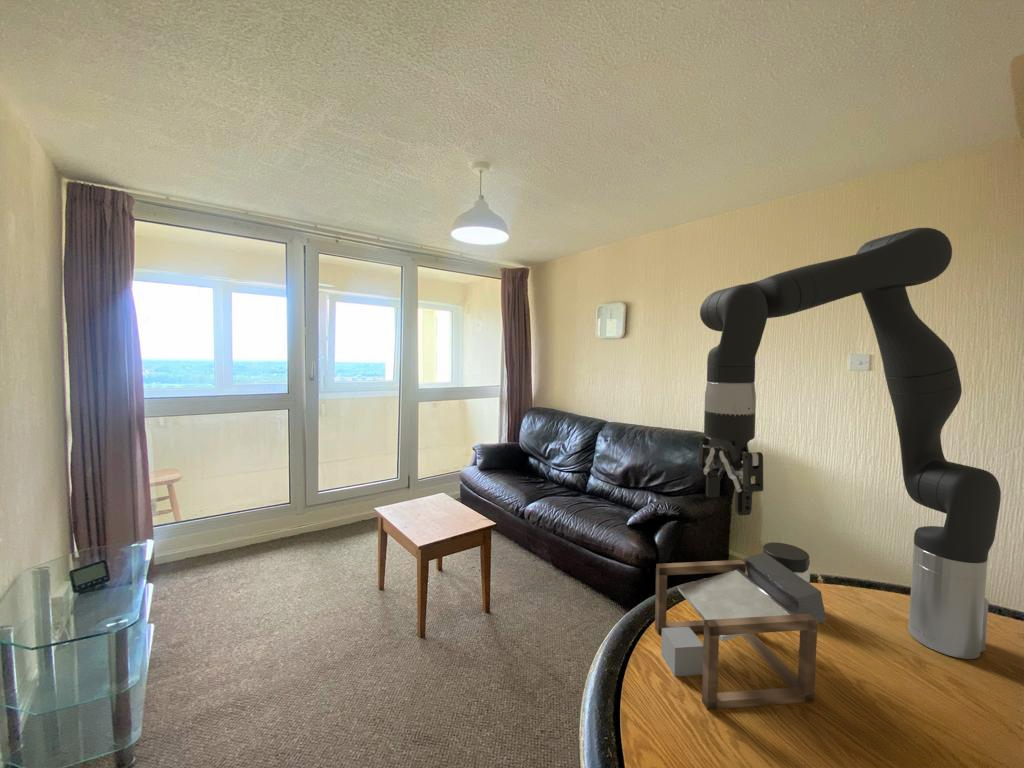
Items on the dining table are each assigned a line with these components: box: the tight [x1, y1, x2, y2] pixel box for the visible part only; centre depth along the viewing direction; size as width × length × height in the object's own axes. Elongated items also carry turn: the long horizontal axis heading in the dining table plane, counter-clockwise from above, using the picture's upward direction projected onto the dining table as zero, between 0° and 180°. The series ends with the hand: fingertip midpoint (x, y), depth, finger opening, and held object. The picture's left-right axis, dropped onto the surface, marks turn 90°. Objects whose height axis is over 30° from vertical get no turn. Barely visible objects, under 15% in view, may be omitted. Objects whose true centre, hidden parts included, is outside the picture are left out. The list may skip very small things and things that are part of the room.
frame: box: [654, 559, 819, 711], centre depth 72 cm, size 17×18×13 cm
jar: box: [762, 541, 811, 583], centre depth 87 cm, size 9×8×12 cm
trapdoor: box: [677, 552, 827, 642], centre depth 72 cm, size 18×15×5 cm
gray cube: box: [660, 627, 703, 677], centre depth 71 cm, size 5×5×5 cm
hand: (726, 504), depth 70 cm, fingers open, 8 cm apart
